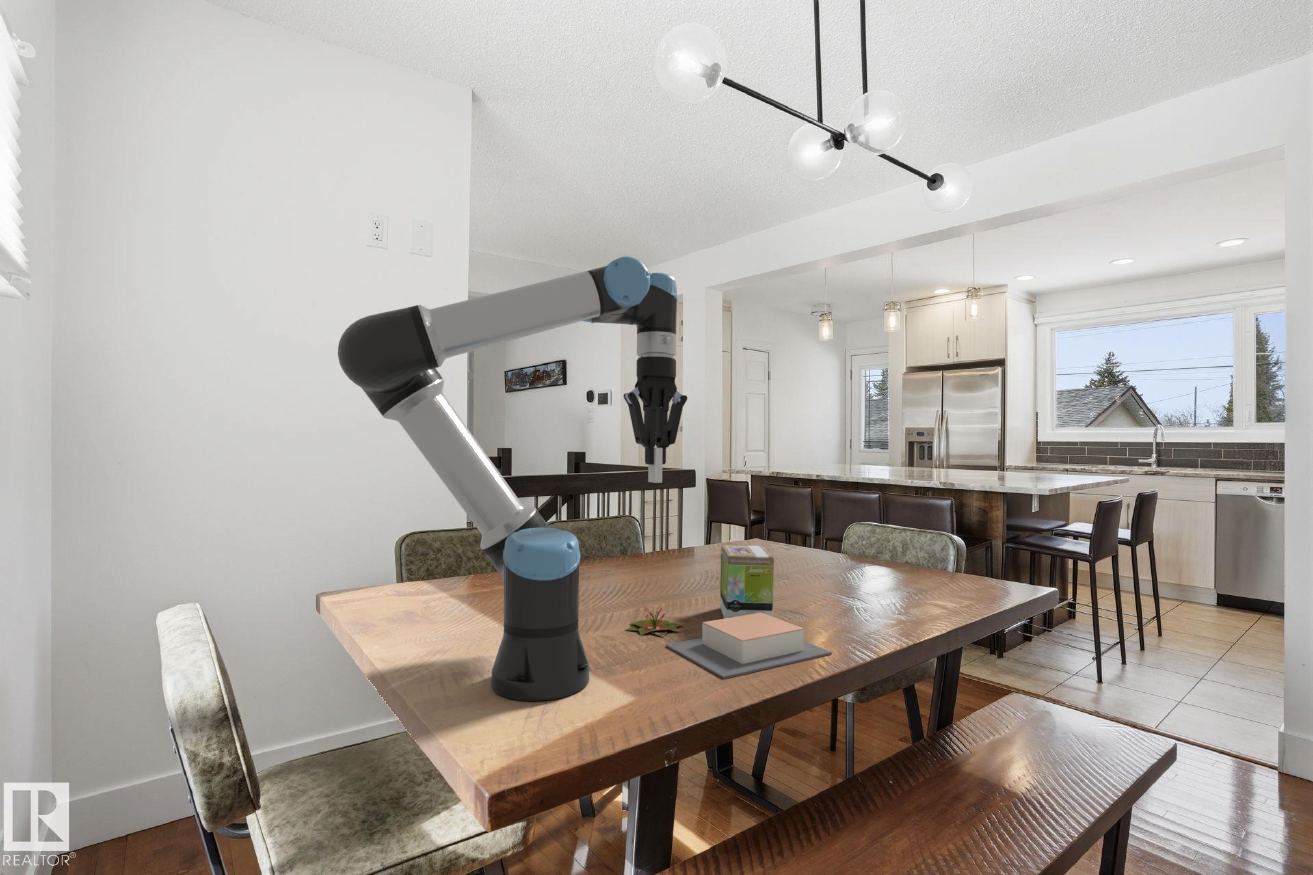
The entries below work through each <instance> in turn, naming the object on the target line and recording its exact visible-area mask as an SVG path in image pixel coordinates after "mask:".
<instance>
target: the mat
mask: <svg viewBox="0 0 1313 875" xmlns="http://www.w3.org/2000/svg"><path fill="white" fill-rule="evenodd" d="M665 647H666V648H667V649H670V650H671V651H672V652H675V653H677V654H678V655H681V656H682V657H683V658H685V659H688V660H689V661H691V662H693V663H695V664H696V665H698V666H700V667H701V668H703V669H705V670H707V671H709V672H711V674H712V673H713V674H714V675H715V676H718V677H720V678H721V679H722V680H725V679H730V678H735V677H739V676H743V675H749V674H751V673H755V672H760V671H764V670H765V671H766V670H769V669H773V668H779V667H782V666H786V665H791V664H795V663H799V662H805V661H809V660H812V659H813V660H814V659H818V658H821V657H825V656H830V655H833V652H832V651H830V650H827V649H825V648H822V647H820V646H818V645H816V644H812V643H810V642H807V641H805V640H804V651H800V652H795V653H791V654H786V655H782V656H777V657H773V658H768V659H763V660H759V661H754V662H750V663H745V664H741V663H739V662H737V661H735V660H733V659H731V658H729V657H727V656H725V655H723V654H721V653H720V652H718V651H716V650H714V649H712V648H710V647H708V646H706V645H704V644H702V637H698V638H693V639H688V640H681V641H677V642H672V643H666V644H665Z"/></svg>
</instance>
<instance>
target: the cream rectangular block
mask: <svg viewBox="0 0 1313 875" xmlns="http://www.w3.org/2000/svg"><path fill="white" fill-rule="evenodd" d="M701 626H702V633H701V634H702V636H701V638H702V644H704V645H706V646H708V647H710V648H712V649H714V650H716V651H718V652H720V653H721V654H723V655H725V656H727V657H729V658H731V659H733V660H735V661H737V662H739V663H741V664H745V663H750V662H754V661H759V660H763V659H768V658H773V657H777V656H782V655H786V654H791V653H795V652H800V651H804V641H805V628H804V627H801V626H799V625H796V624H792V623H790V622H787V621H785V620H782V619H779V618H778V617H775V616H773V617H772V616H769V615H767V614H764V613H755V614H749V615H743V616H737V617H731V618H725V619H724V618H721V619H713V620H707V621H702V624H701Z"/></svg>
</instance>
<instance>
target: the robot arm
mask: <svg viewBox="0 0 1313 875" xmlns="http://www.w3.org/2000/svg"><path fill="white" fill-rule="evenodd" d="M648 270H649V269H648V268H647V267H646V266H645V264H644V263H643V262H642V261H640V260H639V259H637V258H635V257H633V256H621V257H618V258H616V259H613V260H612V261H610V262H609V263H608V264H607V265H605V266H601V267H597V268H593V269H590V270H586V271H582V272H577V273H572V274H569V275H565V276H559V277H556V278H552V279H548V280H544V281H539V282H536V283H532V284H528V285H524V286H520V287H515V288H512V289H508V290H503V291H499V292H495V293H491V294H486V295H483V296H479V297H475V298H471V299H470V298H469V299H467V300H462V301H459V302H455V303H450V304H446V305H443V306H438V307H434V308H427V307H425V306H423V305H422V304H416V305H412V306H409V307H402V308H399V309H393V310H389V311H384V312H379V313H376V314H371V315H367V316H364V317H361V318H359V319H357V320H355V321H353V323H351V324H350V325H349V326H348V327H347V328H346V329H344V332H343V333H342V335H341V337H340V338H339V342H338V345H337V357H338V364H339V365H340V367H341V370H342V371H343V372H344V374H345V376H347V378H348V379H349V380H350V381H352V383H353V384H355V385H356V386H358V387H360V388H361V389H362V390H363V392H364V393H365V395H366V396H367V397H368V399H369V400H370V401H371V403H372V404H373V405H374V407H375V408H376V409H377V411H378V412H379V414H380V415H381V416H382V417H383V419H387V420H393V421H396V422H398V424H400V426H401V427H402V429H403V430H404V431H405V433H407V435H408V437H409V438H410V439H411V441H412V442H413V443H414V445H415V446H416V447H417V449H418V450H419V451H420V453H421V455H422V456H423V457H424V458H425V460H426V461H427V462H428V464H429V465H430V466H431V468H432V469H433V470H434V472H435V473H436V475H437V476H438V477H439V479H440V480H441V481H442V482H443V484H444V486H445V487H446V488H447V490H448V491H449V492H450V493H451V495H452V496H453V497H454V499H455V500H456V502H457V503H458V504H459V505H460V507H461V509H462V510H463V511H464V512H465V514H466V515H467V517H468V518H469V519H470V520H471V521H472V524H473V525H474V526H475V527H476V528H477V530H478V531H479V532H480V534H481V540H480V546H479V547H480V549H481V550H482V552H483V554H484V555H485V556H486V557H487V559H488V560H489V561H490V563H491V564H492V565H493V567H494V568H495V570H496V571H497V572H498V573H499V575H500V576H501V578H502V583H503V636H502V638H501V641H500V645H499V647H498V651H497V653H496V657H495V660H494V663H493V666H492V668H491V679H490V680H491V689H492V690H493V692H494V693H496V694H497V695H499V696H501V697H504V698H507V699H510V700H517V701H527V702H530V701H533V702H534V701H535V702H536V701H537V702H538V701H539V702H540V701H549V700H550V701H551V700H556V699H560V698H564V697H568V696H571V695H574V694H576V693H578V692H580V691H581V690H583V689H584V688H585V687H586V686H588V684H589V682H590V665H589V664H590V663H589V661H588V658H587V654H586V651H585V648H584V644H583V641H582V638H581V635H580V631H579V615H580V614H579V609H580V608H579V607H580V603H579V602H580V600H579V599H580V561H581V551H580V546H579V540H578V538H577V536H576V535H574V534H573V533H572V532H570V531H567V530H565V529H564V530H561V529H559V528H554V527H550V526H549V524H548V523H547V522H546V520H545V519H544V518H543V516H542V515H541V513H540V512H539V511H538V509H537V508H536V507H533V506H527V505H524V504H523V503H522V502H521V501H520V499H519V497H518V496H517V495H516V493H515V492H514V491H513V489H512V488H511V487H510V485H509V484H508V483H507V481H506V480H505V478H504V476H502V474H501V473H500V471H499V470H498V468H497V467H496V466H495V464H494V463H493V462H492V460H491V458H490V457H489V455H487V453H486V452H485V451H484V449H483V447H482V446H481V445H480V443H479V442H478V441H477V439H476V438H475V436H474V435H473V434H472V432H471V431H470V430H469V428H468V427H467V426H466V424H465V423H464V421H463V419H462V418H461V417H460V415H459V414H458V413H457V411H456V410H455V409H454V406H452V405H451V403H450V402H449V400H448V399H447V398H446V396H445V395H444V393H443V392H444V391H443V390H444V385H445V380H444V378H443V376H442V375H441V374H440V372H439V371H438V370H437V368H438V369H439V368H440V367H442V365H443V364H444V362H445V360H446V359H448V358H451V357H452V358H453V357H456V356H459V355H462V354H463V355H464V354H466V353H471V352H474V351H477V350H481V349H484V348H488V347H492V346H495V345H499V344H503V343H506V342H510V341H514V340H518V339H521V338H524V337H528V336H532V335H535V334H539V333H543V332H546V331H551V330H553V329H557V328H560V327H561V328H562V327H566V326H569V325H571V324H575V323H578V322H587V323H591V324H595V323H597V324H598V323H599V324H613V325H614V324H616V325H631V326H633V325H635V326H636V355H637V356H638V358H637V359H636V373H635V374H636V382H635V385H634V388H633V389H632V390H631V391H630V392H625V393H624V394H623V400H624V401H625V403H626V404H627V406H628V411H629V416H630V421H631V426H632V430H633V436H634V441H635V443H636V444H637V445H641V446H642V447H643V448H644V463H645V465H647V466H648V473H647V474H648V475H647V476H648V477H647V478H648V479H647V482H648V483H654V484H656V483H657V484H660V483H663V465H666V462H667V460H666V459H667V457H666V456H667V448H669V447H670V446H671V445H675V443H676V440H677V436H678V432H679V426H680V423H681V417H682V412H683V410H684V409H683V408H684V406H685V405H686V403H687V401H688V396H687V395H685V394H681V393H680V392H679V391H678V387H677V384H676V377H677V360H676V359H675V358H674V357H676V355H677V312H678V301H679V300H678V290H677V289H678V288H677V280H676V279H675V277H674V276H672V275H671V274H668V273H664V272H649V271H648ZM639 400H641V402H642V408H641V404H640V401H639ZM671 402H672V403H671ZM670 403H671V406H670ZM642 410H643V411H642ZM668 412H669V413H668Z"/></svg>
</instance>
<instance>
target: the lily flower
mask: <svg viewBox="0 0 1313 875" xmlns="http://www.w3.org/2000/svg"><path fill="white" fill-rule="evenodd" d="M658 609H659V607H657V608H656V612H654V610H652V611H650V610H649V609H648V607H644V611H645V612H647V613H648V614H647V613H646V615H644V617H645V619H644V620H643V619H642V620H641V619H640V620H637V621H634V622H631V623H629V624H630V625H633V626H630V627H628V628H626V629H625V631H636V632H639V637H641V636H643V635H645V634H648V633H650V634H654V635H656V636H659V637H661V638H664V637H665V635H667V633H668V631H667V630H669V631H673V632H677V633H681V632H680V631H679V630H678V629H677V627H681V626H683V624H681V623H676V622H670V621H669V620H666V619H663V618H665V615H666V613H663V614H662V615H661V617H660V618H659V615H660V614H661V612H662V610H663V608H662V607H661V608H660V609H659V611H658ZM654 614H655V615H654ZM650 616H651V617H650ZM658 618H659V619H658ZM657 627H658V628H659V630H660V631H661V632H660V633H658V632H657V633H656V632H655V631H656V630H657ZM650 628H653V629H652V630H651V629H650Z"/></svg>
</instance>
